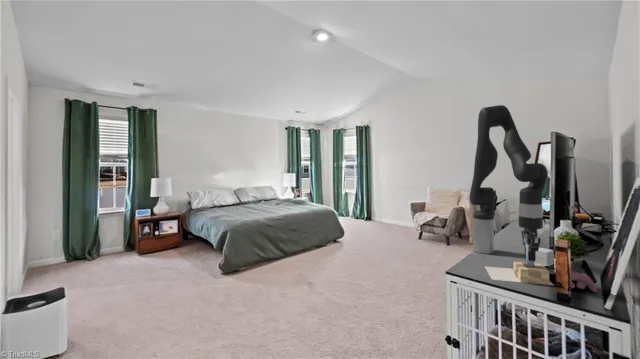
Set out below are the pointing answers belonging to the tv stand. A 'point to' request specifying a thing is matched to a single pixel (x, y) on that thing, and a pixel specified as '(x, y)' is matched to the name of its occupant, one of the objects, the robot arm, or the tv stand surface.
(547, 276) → the checkered wooden block
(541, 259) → the product box
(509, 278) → the felt mat
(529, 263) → the dowel
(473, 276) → the tv stand surface
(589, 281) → the video game controller
